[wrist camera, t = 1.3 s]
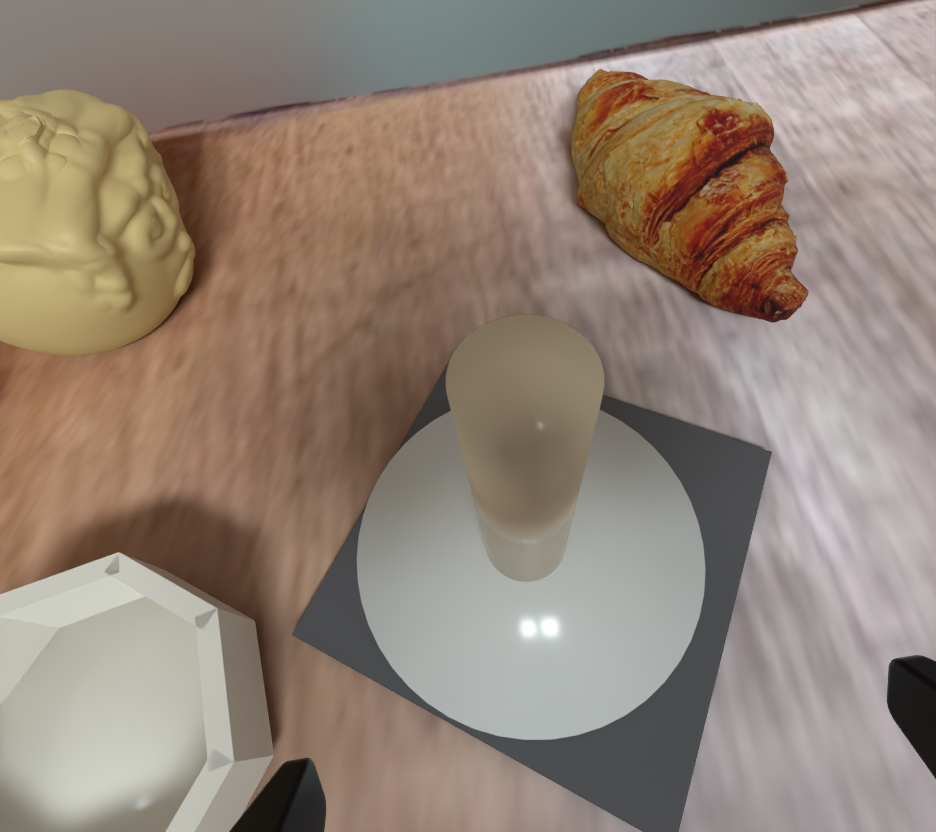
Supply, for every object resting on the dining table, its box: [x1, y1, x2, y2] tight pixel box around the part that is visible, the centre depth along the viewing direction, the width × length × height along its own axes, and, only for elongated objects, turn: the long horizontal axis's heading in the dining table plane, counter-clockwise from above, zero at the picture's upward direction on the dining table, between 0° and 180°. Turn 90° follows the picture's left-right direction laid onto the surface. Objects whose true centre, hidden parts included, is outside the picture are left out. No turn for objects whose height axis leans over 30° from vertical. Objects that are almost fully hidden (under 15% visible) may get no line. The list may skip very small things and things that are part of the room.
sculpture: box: [0, 89, 195, 355], centre depth 27 cm, size 11×12×11 cm
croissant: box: [571, 69, 809, 322], centre depth 29 cm, size 21×10×8 cm, turn 19°
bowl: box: [0, 552, 274, 832], centre depth 19 cm, size 12×12×4 cm
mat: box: [292, 363, 772, 832], centre depth 22 cm, size 15×15×1 cm
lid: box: [357, 314, 706, 740], centre depth 17 cm, size 14×14×13 cm
